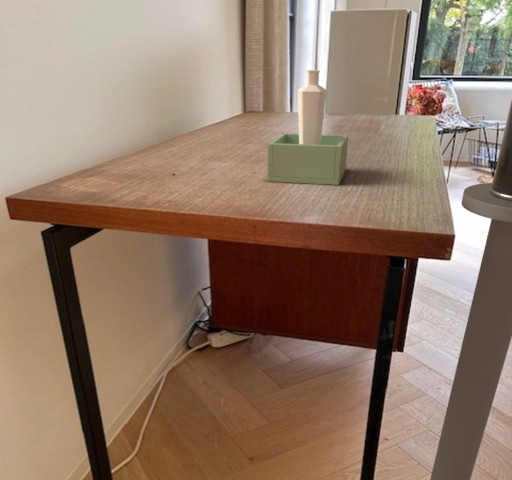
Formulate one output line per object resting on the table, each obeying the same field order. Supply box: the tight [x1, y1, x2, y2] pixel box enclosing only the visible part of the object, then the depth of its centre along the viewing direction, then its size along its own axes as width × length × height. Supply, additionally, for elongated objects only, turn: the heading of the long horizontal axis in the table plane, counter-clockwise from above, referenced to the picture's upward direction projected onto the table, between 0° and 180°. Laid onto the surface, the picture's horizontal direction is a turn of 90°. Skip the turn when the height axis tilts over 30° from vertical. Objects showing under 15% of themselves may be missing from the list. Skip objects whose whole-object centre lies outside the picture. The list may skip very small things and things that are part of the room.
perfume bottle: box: [297, 69, 328, 145], centre depth 81 cm, size 5×4×15 cm
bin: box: [266, 132, 349, 186], centre depth 84 cm, size 12×12×6 cm
